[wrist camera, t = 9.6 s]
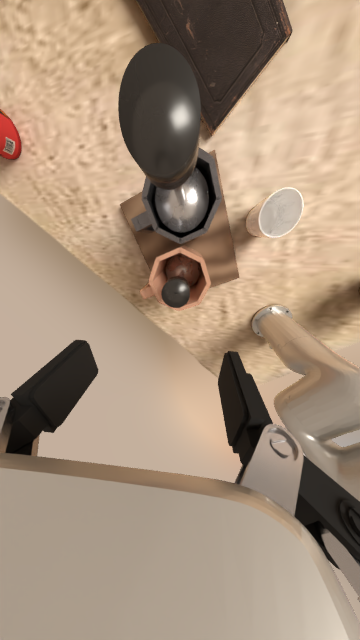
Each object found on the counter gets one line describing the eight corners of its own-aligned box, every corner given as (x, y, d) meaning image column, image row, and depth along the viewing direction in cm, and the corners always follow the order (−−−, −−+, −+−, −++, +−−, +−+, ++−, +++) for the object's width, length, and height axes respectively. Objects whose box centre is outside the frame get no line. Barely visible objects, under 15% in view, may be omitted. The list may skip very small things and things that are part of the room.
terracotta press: (208, 280, 43) (215, 299, 29) (163, 296, 46) (151, 319, 33) (196, 239, 38) (198, 239, 24) (147, 261, 42) (125, 271, 28)
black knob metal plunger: (203, 281, 39) (211, 310, 23) (174, 291, 41) (161, 325, 25) (193, 247, 35) (193, 254, 19) (161, 261, 37) (136, 277, 21)
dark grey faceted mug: (214, 229, 37) (227, 223, 23) (161, 252, 40) (146, 259, 27) (200, 172, 32) (207, 121, 18) (142, 204, 35) (111, 182, 22)
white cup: (264, 242, 38) (286, 242, 30) (237, 233, 38) (251, 231, 29) (283, 206, 34) (313, 195, 26) (252, 196, 34) (273, 180, 25)
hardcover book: (210, 140, 31) (212, 134, 29) (126, -8, 23) (119, -31, 21) (286, 44, 24) (295, 26, 22) (203, -197, 17) (205, -255, 15)
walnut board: (237, 276, 43) (239, 277, 42) (166, 301, 49) (165, 303, 48) (213, 153, 31) (214, 149, 30) (122, 205, 37) (119, 204, 35)
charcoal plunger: (214, 219, 25) (257, 178, 8) (168, 240, 27) (131, 240, 11) (199, 152, 21) (222, -159, 5) (147, 183, 23) (37, 42, 7)
